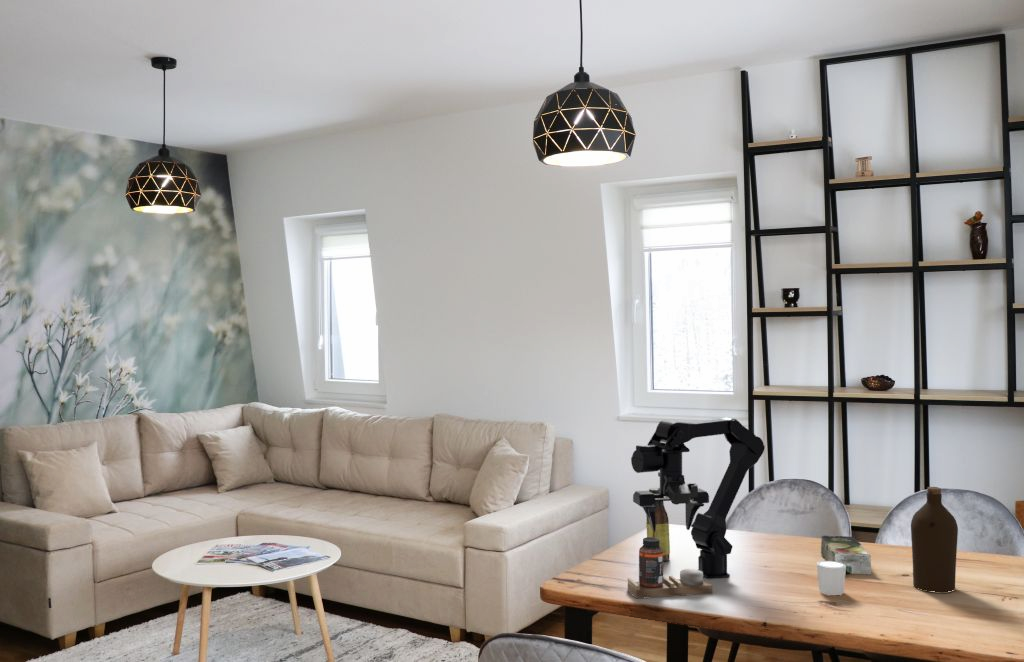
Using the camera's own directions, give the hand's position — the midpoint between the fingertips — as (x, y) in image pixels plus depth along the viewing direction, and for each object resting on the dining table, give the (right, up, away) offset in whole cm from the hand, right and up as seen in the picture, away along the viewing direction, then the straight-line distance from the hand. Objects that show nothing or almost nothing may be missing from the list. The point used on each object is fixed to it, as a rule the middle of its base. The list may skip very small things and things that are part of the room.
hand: (671, 530), depth 226 cm
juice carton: (+50, -13, +15) cm, 54 cm away
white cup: (+38, -13, -10) cm, 41 cm away
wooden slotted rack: (-2, -13, -9) cm, 16 cm away
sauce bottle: (0, -13, +21) cm, 24 cm away
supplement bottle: (-7, -11, -10) cm, 16 cm away
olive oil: (+65, -13, -6) cm, 66 cm away
